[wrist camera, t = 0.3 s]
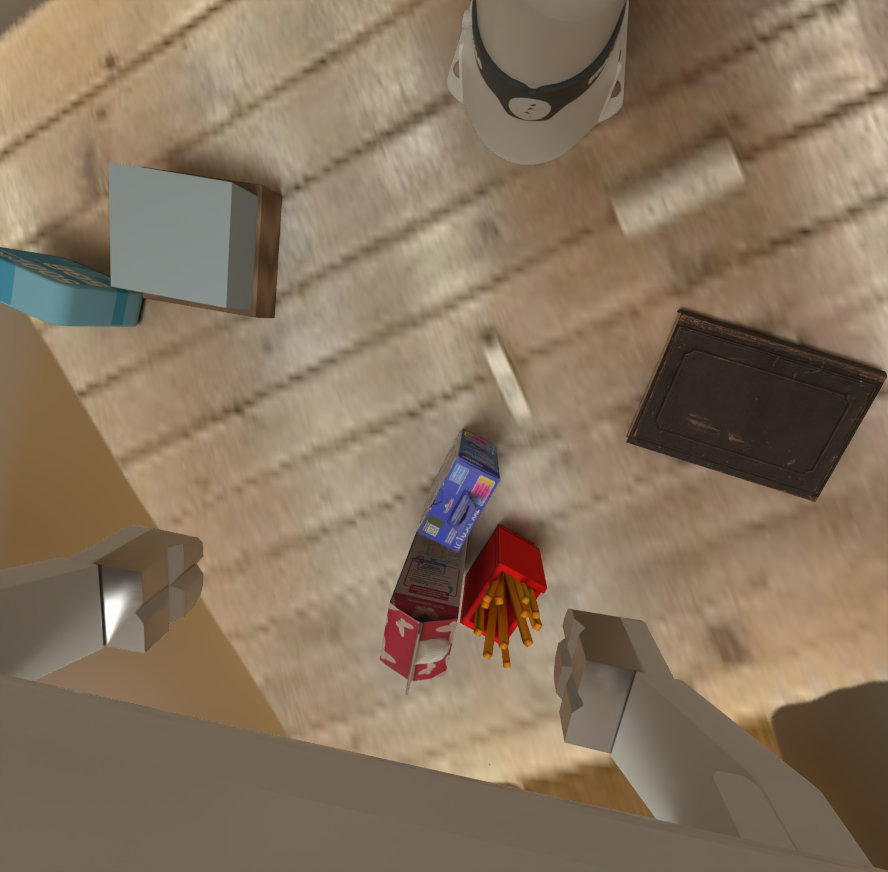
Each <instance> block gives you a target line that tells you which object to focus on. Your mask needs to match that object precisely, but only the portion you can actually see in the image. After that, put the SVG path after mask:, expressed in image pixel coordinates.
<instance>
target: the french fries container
mask: <svg viewBox="0 0 888 872" xmlns="http://www.w3.org/2000/svg"><path fill="white" fill-rule="evenodd" d="M546 590H547V585H546V580H545V575H544V570H543V565H542V560H541V555H540V550H539V548H537V547H535V546H534V543H532V542H530V541H529V540H527V539H525V538H523V537H521V536H519V535H518V534H516V533H514V532H512V531H510V530H509V529H507V528H505V527H503V526H501V525H499V524H498V526H497V528H496V529H495V531H494V532H493V534H492V535H491V537H490V539H489V540H488V542H487V543H486V545H485V546H484V548H483V550H482V551H481V553H480V554H479V556H478V558H477V559H476V561H475V562H474V564H473V565H472V567H471V569H470V570H469V572H468V573H467V575H466V576H465V585H464V593H463V602H462V610H461V619H460V623H462V624H463V625H465V626H467V627H469V628H471V629H473V630H474V634H476V635H478V636H479V637H480V636H481V635H484V636H485V643H484V651H483V657H485V658H487V659H488V660H489V659H490V658H491V657H492V654H493V645H494V641H495V642H496V643H498V644H499V647H500V648H501V650H502V659H503V667H504V668H510V667H511V666H510V657H509V650H508V643H509V637H510V636H511V634H512V633H513V632H514V630H515V629H516V627H517V626H518V627H519V630H520V634H521V638H522V641H523V644H524V645H526V646H527V647H529V646H530V645H531V644H533V641H532V638H531V634H530V631H529V628H528V625H527V621H526V618H527V617H529V620H530V623H531V626H532V628H533V629H535V630H537V631H539V630H540V628H541V627H542V623H541V621H540V615H539V609H538V605H537V601H536V599H537V597H538V596H539V595H540V593H543V594H544V592H545V591H546Z"/></svg>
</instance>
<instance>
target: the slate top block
mask: <svg viewBox="0 0 888 872" xmlns="http://www.w3.org/2000/svg"><path fill="white" fill-rule="evenodd" d="M109 208H110V266H111V287H117V288H122V289H127V290H133V291H138V292H144V293H149V294H154V295H160V296H165V297H170V298H176V299H181V300H187V301H192V302H197V303H203V304H208V305H214V306H219V307H224V308H235V309H248V310H251V309H252V293H253V276H254V260H255V244H256V227H257V211H258V197H257V196H256V195H254V194H252V193H250V192H248V191H247V190H245V189H243V188H241V187H239V186H238V185H236V184H234V183H232V182H227V181H221V180H215V179H209V178H203V177H197V176H191V175H185V174H179V173H173V172H167V171H161V170H155V169H149V168H143V167H137V166H131V165H125V164H119V163H113V162H109Z"/></svg>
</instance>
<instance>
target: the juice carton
mask: <svg viewBox="0 0 888 872" xmlns="http://www.w3.org/2000/svg"><path fill="white" fill-rule="evenodd" d="M467 542H468V537H467V539H466V540H465V542H464V544H463V546H462V547H461V549H460V551H459V552H456V551H454V550H452V549H450V548H448V547H446V546H444V545H442V544H440V543H438V542H436V541H434V540H432V539H430V538H428V537H426V536H424V535H421V534H419V533H418V532H416V535H415V538H414V540H413V543H412V545H411V548H410V551H409V553H408V556H407V559H406V561H405V564H404V566H403V569H402V572H401V574H400V577H399V579H398V582H397V585H396V587H395V590H394V593H393V595H392V598H391V600H390V604H389V609H388V615H387V621H386V627H385V632H384V638H383V644H382V649H381V655H380V660H381V661H382V662H383V663H384V664H385V665H387V666H388V667H390V668H391V669H393V670H394V671H396V672H397V673H399V674H400V675H402V676H403V677H405V678H406V679H408V682H407V689H406V695H408V691H409V686H410V682H412V681H418V680H425V679H431V678H438V677H441V676H444V675H445V673H446V668H447V664H448V660H449V655H450V651H451V646H452V642H453V637H454V633H455V628H456V624H457V619H458V613H459V605H460V597H461V589H462V581H463V573H464V565H465V557H466V550H467Z"/></svg>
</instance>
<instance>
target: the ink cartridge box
mask: <svg viewBox="0 0 888 872" xmlns="http://www.w3.org/2000/svg"><path fill="white" fill-rule="evenodd" d="M499 481H500V475H499V467H498V459H497V452H496V448H495V447H494V446H493V445H492V444H490V443H488V442H486V441H485V440H483V439H481V438H479V437H477V436H475V435H474V434H472V433H470V432H468V431H466V430H464V429H463V430H461V432H460V433H459V435H458V437H457V439H456V441H455V443H454V445H453V447H452V449H451V450H450V452H449V454H448V456H447V458H446V460H445V462H444V464H443V466H442V468H441V470H440V472H439V473H438V475H437V477H436V479H435V481H434V483H433V485H432V487H431V489H430V492H429V495H428V498H427V501H426V504H425V507H424V510H423V513H422V516H421V520H420V523H419V526H418V529H417V532H418V533H419V534H421V535H424V536H426V537H428V538H430V539H432V540H434V541H436V542H438V543H440V544H442V545H444V546H446V547H448V548H450V549H452V550H454V551H456V552H459V551H460V549H461V547H462V546H463V544H464V542H465V540H466V539H467V537H468V535H469V533H470V532H471V530H472V528H473V526H474V524H475V523H476V521H477V519H478V517H479V516H480V514H481V512H482V510H483V509H484V507H485V505H486V504H487V502H488V500H489V498H490V497H491V495H492V493H493V491H494V489H495V488H496V486H497V484H498V482H499Z"/></svg>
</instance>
